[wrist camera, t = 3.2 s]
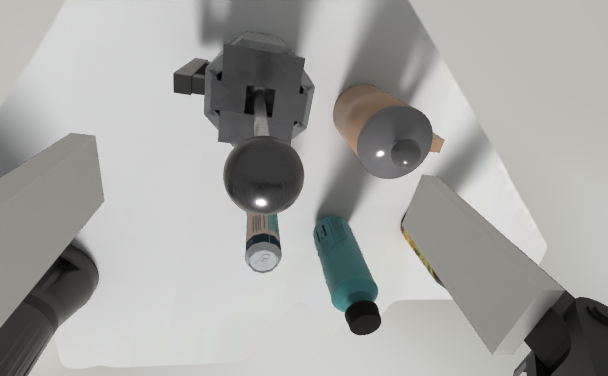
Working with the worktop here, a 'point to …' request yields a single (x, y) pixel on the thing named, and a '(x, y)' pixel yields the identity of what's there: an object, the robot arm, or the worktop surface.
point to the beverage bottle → (347, 275)
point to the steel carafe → (254, 72)
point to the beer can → (262, 243)
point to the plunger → (263, 163)
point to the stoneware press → (384, 131)
